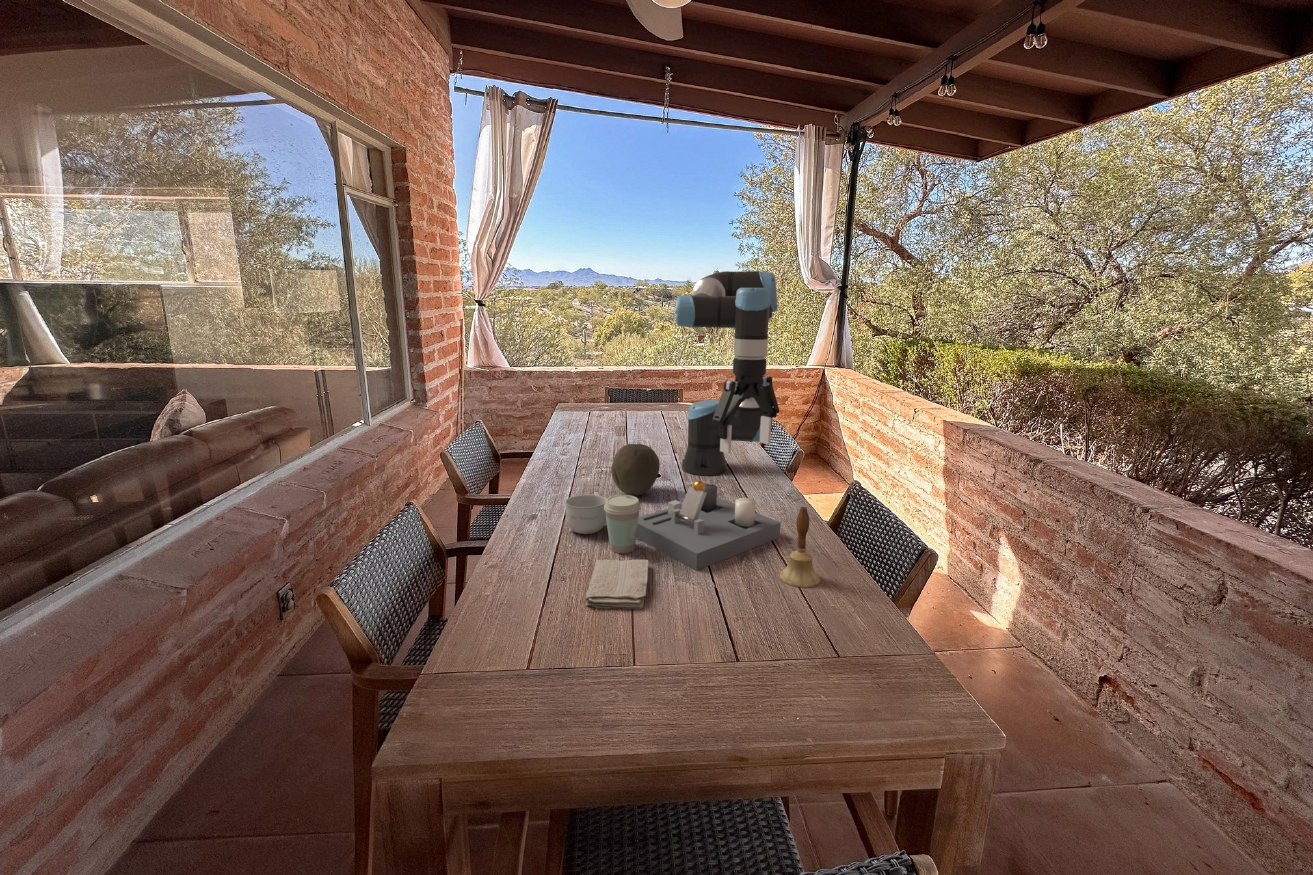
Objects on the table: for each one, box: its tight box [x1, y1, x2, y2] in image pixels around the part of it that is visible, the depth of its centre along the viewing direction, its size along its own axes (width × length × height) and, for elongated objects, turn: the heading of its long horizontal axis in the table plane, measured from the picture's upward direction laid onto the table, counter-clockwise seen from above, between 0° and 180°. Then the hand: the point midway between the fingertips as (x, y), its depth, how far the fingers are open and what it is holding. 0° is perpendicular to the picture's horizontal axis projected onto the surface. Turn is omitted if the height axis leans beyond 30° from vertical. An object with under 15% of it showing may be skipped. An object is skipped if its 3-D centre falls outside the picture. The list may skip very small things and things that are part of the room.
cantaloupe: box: [611, 443, 661, 497], centre depth 171 cm, size 14×14×15 cm
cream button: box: [734, 497, 756, 527], centre depth 141 cm, size 5×5×6 cm
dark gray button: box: [701, 483, 718, 511], centre depth 151 cm, size 5×5×6 cm
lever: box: [677, 480, 706, 525], centre depth 138 cm, size 3×6×10 cm, turn 40°
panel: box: [636, 497, 782, 571], centre depth 142 cm, size 28×24×7 cm
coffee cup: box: [604, 494, 642, 554], centre depth 135 cm, size 9×8×12 cm
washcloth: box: [584, 559, 649, 610], centre depth 119 cm, size 12×18×3 cm, turn 179°
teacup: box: [564, 494, 608, 535], centre depth 145 cm, size 14×11×8 cm
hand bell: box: [779, 506, 821, 589], centre depth 121 cm, size 8×8×16 cm
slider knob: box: [667, 500, 683, 515], centre depth 146 cm, size 2×2×3 cm
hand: (745, 447), depth 137 cm, fingers open, 13 cm apart
